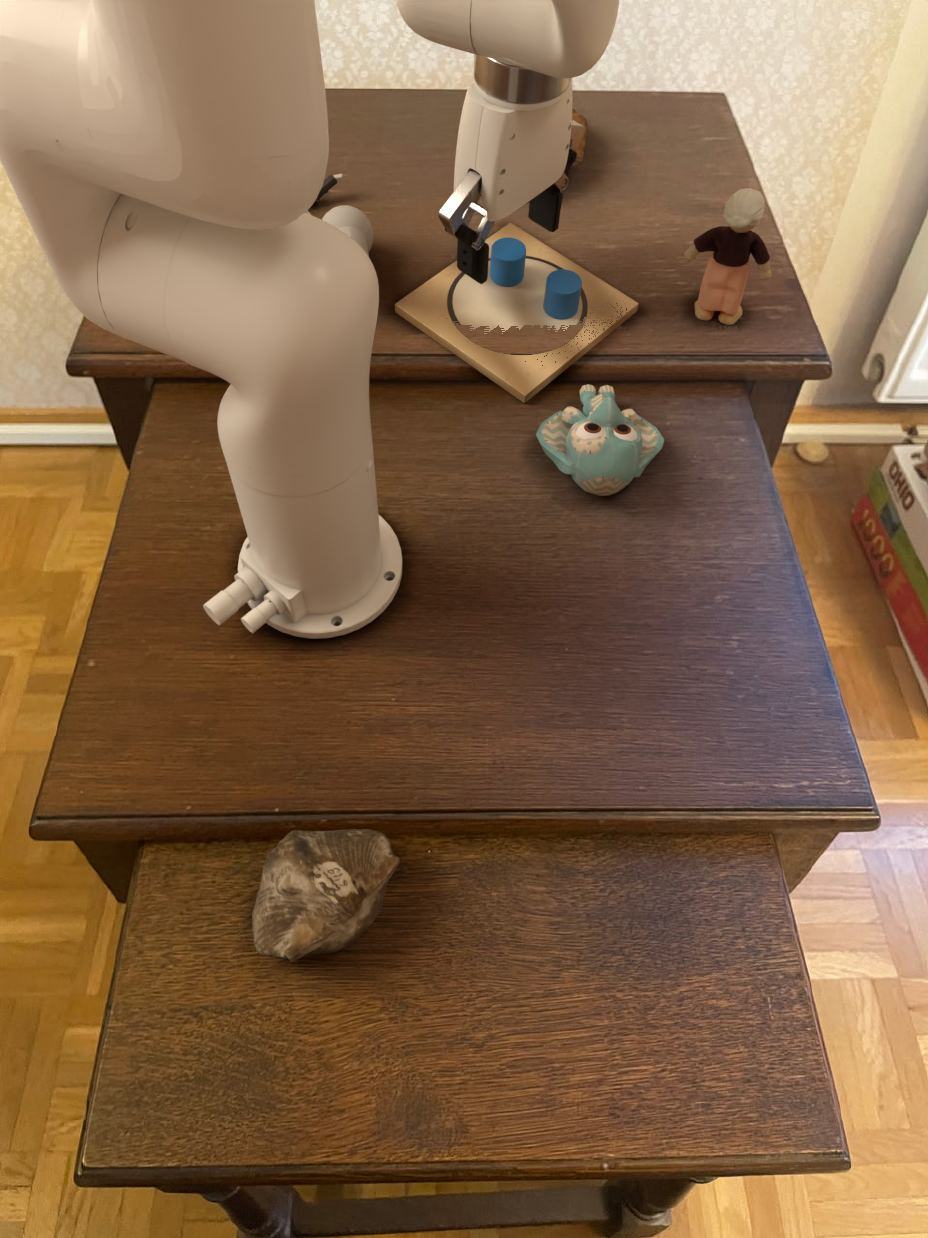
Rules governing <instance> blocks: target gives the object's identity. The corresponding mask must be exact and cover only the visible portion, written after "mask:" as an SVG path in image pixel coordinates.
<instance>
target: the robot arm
mask: <svg viewBox="0 0 928 1238" xmlns="http://www.w3.org/2000/svg"><path fill="white" fill-rule="evenodd" d="M315 2H316V1H315V0H0V163H1V165H2V168H3V170H4V172H5V174H6V176H7V178H8V181H9V183H10V184H11V187H12V189H13V192H14V193H15V195H16V197H17V199H18V201H19V204H20V205H21V208H22V210H23V212H24V215H25V216H26V219H27V220H28V223H29V225H30V227H31V229H32V231H33V233H34V235H35V237H36V240H37V241H38V244H39V246H40V248H41V250H42V252H43V254H44V256H45V258H46V260H47V263H48V265H49V267H50V269H51V270H52V272H53V275H54V276H55V279H56V281H57V282H58V284H59V286H60V288H61V289H62V291H63V293H64V294H65V295H66V297H67V298H68V300H69V301H70V302H71V304H72V305H73V306H74V307H75V308H76V310H78V311H79V313H81V315H83V316H84V317H85V318H86V320H88V321H90V322H91V323H93V324H94V325H96V326H97V327H99V328H101V329H103V330H105V331H107V332H109V333H111V334H113V335H116V336H118V337H120V338H123V339H125V340H127V341H130V342H133V343H136V344H138V345H140V346H143V347H146V348H148V349H150V350H154V351H156V352H159V353H161V354H165V355H166V356H169V357H172V358H174V359H177V360H180V361H183V362H185V363H186V364H188V365H189V366H192V367H194V368H197V369H200V370H201V371H205V372H207V373H210V374H212V375H214V376H215V377H218V378H220V379H222V380H224V381H226V382H227V383H228V384H229V386H228V387H227V389H226V391H225V392H224V394H223V396H222V398H221V400H220V403H219V406H218V411H217V420H216V421H217V422H216V424H217V433H218V439H219V443H220V448H221V451H222V454H223V458H224V460H225V463H226V466H227V469H228V474H229V476H230V480H231V483H232V487H233V490H234V493H235V498H236V501H237V504H238V508H239V511H240V515H241V519H242V521H243V525H244V528H245V532H246V536H247V537H246V538H245V540H244V542H243V543H242V547H241V549H240V552H239V555H238V564H237V573H236V574H234V575H233V578H234V581H233V582H231V584H230V585H228V586H227V587H226V588H224V589H221V590H220V591H219V592H218V593H216V594H215V595H214V596H212V598H210V599H208V600H207V601H206V602H205V603H204V604H203V605H202V607H203V610H204V611H205V613H206V614H207V615H208V617H209V618H210V619H211V620H212V621H213V622H214V623H215V624H216V625H218V626H222V625H223V624H224V623H225V622H226V621H228V620H229V619H230V618H232V616H234V615H236V613H238V612H239V611H240V608H242V607H243V606H244V605H246V604H247V605H248V607H249V608H250V609H251V610H250V611H248V612H247V613H246V614H244V615H243V616H242V617H241V618H240V622H241V623H242V624H243V626H244V627H245V629H247V630H248V631H249V632H250V633H251V634H255V632H257V631H258V630H259V629H260V628H261V627H263V626H264V625H268V626H269V627H272V628H273V629H275V630H277V631H279V632H281V633H283V634H287V635H289V636H293V637H297V638H303V639H313V640H314V639H315V640H317V639H330V638H337V637H340V636H345V635H347V634H350V633H352V632H355V631H358V630H360V629H362V628H364V627H365V626H367V625H368V624H371V623H372V622H373V621H374V620H375V619H377V618H378V617H379V616H380V615H381V614H383V613H384V611H385V610H386V609H387V608H388V607H389V605H390V604H391V603H392V601H393V600H394V599H395V598H394V597H395V596H396V595H397V593H398V590H399V587H400V584H401V581H402V576H403V553H402V548H401V545H400V541H399V539H398V536H397V535H396V533H395V531H394V530H393V528H392V526H391V524H389V523H388V522H387V520H385V519H384V517H383V516H382V515H380V514H379V504H378V493H377V492H378V491H377V481H376V480H377V479H376V468H375V456H374V444H373V432H372V431H373V430H372V424H371V423H372V421H371V410H370V409H371V408H370V371H371V360H372V353H373V348H374V347H373V346H374V339H375V334H376V327H377V322H378V315H379V303H380V285H379V279H378V275H377V271H376V269H375V265H374V264H373V262H372V260H371V258H370V256H369V257H368V255H367V254H366V252H365V251H364V250H363V249H362V248H361V246H360V245H359V244H358V243H357V242H356V241H354V240H353V239H352V238H351V237H350V236H348V235H347V234H345V233H344V232H342V231H341V230H339V229H338V228H336V227H335V226H333V225H331V224H329V223H327V222H325V221H323V220H322V218H319V217H317V216H314V215H312V214H311V213H310V214H311V215H310V214H307V213H306V211H309V210H310V208H311V207H312V206H314V203H316V201H315V200H316V198H317V196H318V194H319V192H320V190H321V188H322V186H323V183H324V180H325V179H326V174H327V169H328V168H327V167H328V164H329V163H328V162H329V155H330V136H329V117H328V115H329V114H328V113H329V112H328V104H327V103H328V101H327V93H326V84H325V77H324V76H325V75H324V67H323V60H322V51H321V42H320V36H319V26H318V19H317V9H316V3H315ZM395 2H396V7H397V9H398V12H399V14H400V16H401V18H402V20H403V22H404V23H405V25H406V26H407V27H408V28H410V30H412V31H413V33H415V34H417V35H418V36H420V37H421V38H423V39H425V40H427V41H429V42H433V43H435V44H437V45H441V46H444V47H447V48H450V49H455V50H459V51H461V52H465V53H468V54H473V75H472V76H473V77H472V78H473V82H472V84H471V85H470V86H469V87H468V88H467V90H466V93H465V96H464V97H465V98H464V101H463V106H462V109H461V115H460V120H459V126H458V133H457V138H456V139H457V140H456V149H455V158H454V159H455V160H454V172H453V173H454V174H453V192H452V194H451V195H450V196H449V198H448V199H447V200H446V202H444V204H443V206H442V207H441V208H440V209H439V211H438V215H437V216H438V219H439V220H440V222H441V225H442V226H443V227H444V231H445V232H446V233H447V234H449V235H451V236H452V237H454V238H455V239H457V242H456V243H457V244H456V245H457V248H456V261H457V267H458V269H459V270H460V271H462V272H463V273H465V274H466V275H468V276H469V277H471V278H472V279H474V280H475V281H477V282H478V283H480V284H483V283H484V282H486V281H487V278H488V261H489V245H488V244H487V243H485V241H486V239H488V238H489V235H490V232H491V231H492V229H493V227H494V224H495V223H496V222H497V221H500V220H503V219H505V218H507V217H508V216H510V215H511V214H513V213H514V212H516V211H517V210H519V209H520V208H521V207H523V206H524V205H526V204H528V203H529V205H528V213H527V216H528V219H529V220H530V221H532V222H534V223H535V224H536V225H538V226H540V227H542V228H543V229H545V230H546V231H548V232H549V233H550V232H551V233H555V232H556V231H558V229H559V225H560V218H561V210H562V203H563V195H564V194H563V193H564V192H562V191H564V190H566V188H567V187H568V184H569V182H570V181H569V180H570V179H569V177H568V174H569V172H570V170H571V169H572V167H573V166H574V165H573V163H574V162H575V161H576V160H575V159H576V157H577V153H576V152H575V150H576V149H578V147H579V144H580V142H581V139H582V137H583V134H584V131H585V127H584V126H583V125H581V124H579V123H577V122H576V121H574V120H572V109H573V101H574V99H573V97H574V96H573V94H574V93H573V92H574V91H573V78H577V77H580V76H583V74H585V73H587V72H589V71H590V70H592V68H594V67H595V65H596V64H597V63H598V62H599V61H600V60H601V58H602V57H603V55H604V53H605V52H606V50H607V48H608V46H609V43H610V41H611V38H612V37H613V33H614V30H615V26H616V23H617V18H618V13H619V8H620V0H395ZM572 165H573V166H572ZM480 199H481V203H482V204H480V203H479V201H480ZM475 213H477V214H478V215H479V216H481V217H482V219H481V221H480V223H479V225H478V226H477V229H476V231H475V229H472V228H470V227H469V225H470V222H471V221H472V218H473V216H474V214H475Z"/></svg>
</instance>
